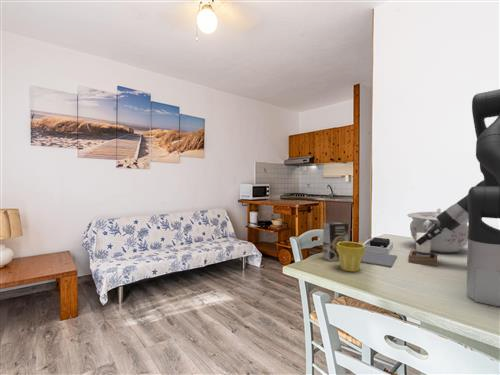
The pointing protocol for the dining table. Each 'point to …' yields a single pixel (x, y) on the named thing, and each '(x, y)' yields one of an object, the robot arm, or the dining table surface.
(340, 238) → the coffee box
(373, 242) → the electronic device
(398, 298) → the dining table surface
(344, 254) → the plant pot
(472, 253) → the robot arm
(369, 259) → the charcoal mat
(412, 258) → the walnut collar
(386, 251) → the grey organizer frame
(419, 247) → the white capsule dome
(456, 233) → the chamber pot
